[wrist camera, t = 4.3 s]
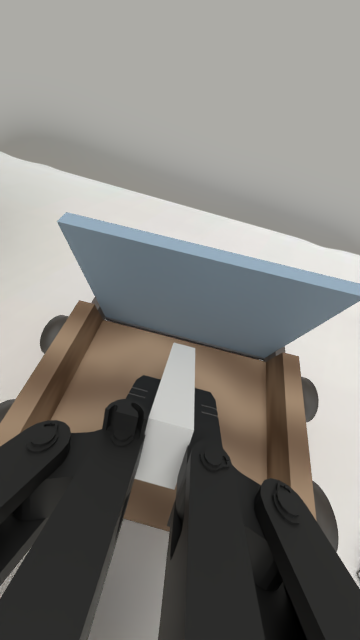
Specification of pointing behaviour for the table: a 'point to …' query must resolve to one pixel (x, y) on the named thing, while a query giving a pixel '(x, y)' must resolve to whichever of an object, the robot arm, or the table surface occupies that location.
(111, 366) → the trailer bed
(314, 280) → the panel
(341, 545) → the table surface
